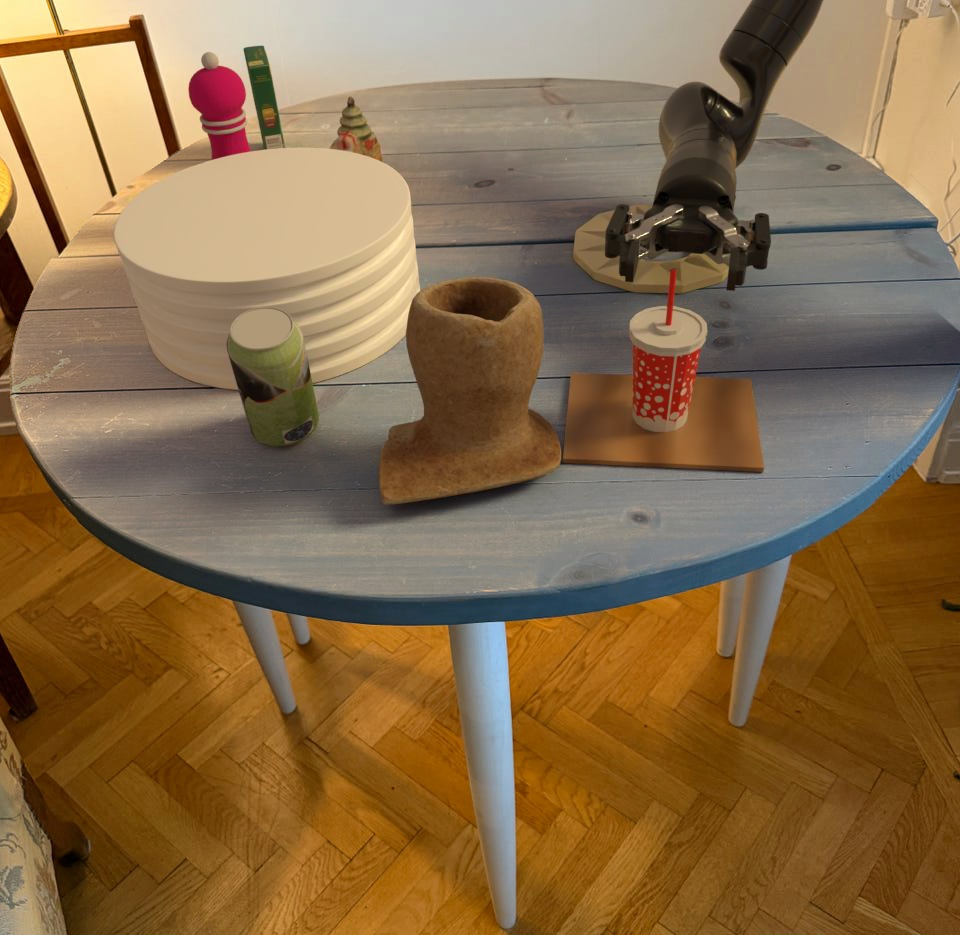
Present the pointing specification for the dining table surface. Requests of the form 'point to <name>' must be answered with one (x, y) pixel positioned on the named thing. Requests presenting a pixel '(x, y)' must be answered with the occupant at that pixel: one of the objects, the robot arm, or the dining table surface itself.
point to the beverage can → (273, 376)
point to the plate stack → (272, 257)
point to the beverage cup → (665, 362)
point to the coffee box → (264, 97)
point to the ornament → (356, 133)
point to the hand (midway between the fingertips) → (680, 277)
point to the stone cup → (470, 394)
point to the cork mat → (696, 445)
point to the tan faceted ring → (641, 262)
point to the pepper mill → (220, 106)
